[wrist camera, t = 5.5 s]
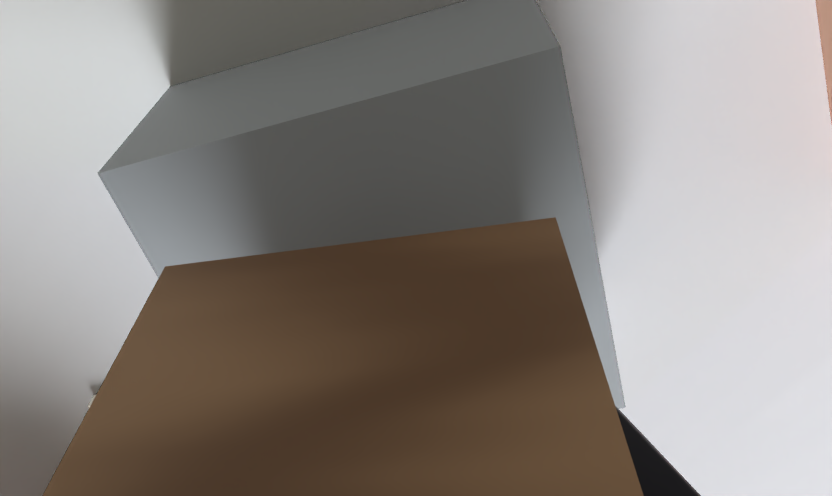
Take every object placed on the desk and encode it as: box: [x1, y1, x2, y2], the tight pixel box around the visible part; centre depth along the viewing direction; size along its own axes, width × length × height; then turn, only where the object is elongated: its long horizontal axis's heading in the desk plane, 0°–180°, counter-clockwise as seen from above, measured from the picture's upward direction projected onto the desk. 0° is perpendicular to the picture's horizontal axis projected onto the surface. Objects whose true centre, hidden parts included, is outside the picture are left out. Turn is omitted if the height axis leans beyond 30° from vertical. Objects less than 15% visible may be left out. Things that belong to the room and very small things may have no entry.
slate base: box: [98, 0, 625, 409], centre depth 14 cm, size 7×7×4 cm
